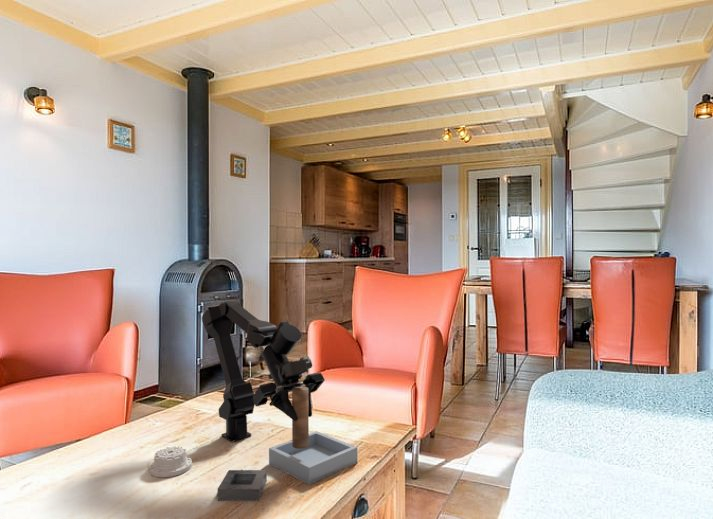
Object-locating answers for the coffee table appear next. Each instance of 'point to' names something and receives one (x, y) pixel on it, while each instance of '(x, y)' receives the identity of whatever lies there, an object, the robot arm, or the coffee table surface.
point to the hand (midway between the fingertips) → (303, 418)
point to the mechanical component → (170, 462)
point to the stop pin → (300, 417)
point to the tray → (313, 457)
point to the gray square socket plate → (242, 485)
